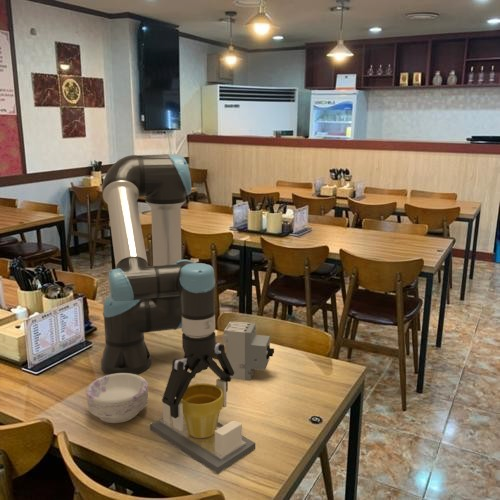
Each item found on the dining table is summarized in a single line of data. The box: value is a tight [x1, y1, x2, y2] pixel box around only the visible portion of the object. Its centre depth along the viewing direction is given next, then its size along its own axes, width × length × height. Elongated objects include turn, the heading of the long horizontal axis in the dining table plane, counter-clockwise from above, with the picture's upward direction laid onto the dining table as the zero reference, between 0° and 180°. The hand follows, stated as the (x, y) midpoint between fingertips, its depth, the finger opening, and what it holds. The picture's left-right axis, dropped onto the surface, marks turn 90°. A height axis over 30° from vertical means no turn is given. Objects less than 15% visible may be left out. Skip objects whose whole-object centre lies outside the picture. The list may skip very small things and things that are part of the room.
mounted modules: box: [162, 397, 243, 455], centre depth 121 cm, size 21×6×5 cm, turn 47°
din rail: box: [158, 416, 246, 461], centre depth 122 cm, size 22×8×1 cm, turn 47°
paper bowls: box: [86, 373, 149, 424], centre depth 132 cm, size 15×15×8 cm
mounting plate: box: [149, 417, 256, 474], centre depth 122 cm, size 24×12×2 cm, turn 47°
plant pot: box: [180, 382, 224, 438], centre depth 121 cm, size 10×10×10 cm
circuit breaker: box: [223, 321, 275, 381], centre depth 152 cm, size 8×14×15 cm, turn 78°
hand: (200, 416), depth 121 cm, fingers open, 13 cm apart
